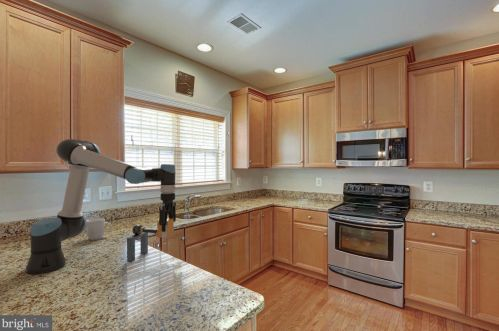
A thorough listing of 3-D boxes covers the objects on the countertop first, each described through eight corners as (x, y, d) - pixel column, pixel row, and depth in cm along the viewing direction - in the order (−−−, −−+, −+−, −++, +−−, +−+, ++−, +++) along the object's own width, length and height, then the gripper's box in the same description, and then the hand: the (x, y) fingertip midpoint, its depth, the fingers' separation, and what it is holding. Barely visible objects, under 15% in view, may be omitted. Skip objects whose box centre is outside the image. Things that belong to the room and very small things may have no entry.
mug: (109, 234, 178) (109, 216, 178) (112, 238, 170) (112, 219, 169) (85, 238, 169) (85, 219, 169) (86, 242, 160) (87, 222, 160)
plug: (138, 236, 132) (138, 219, 132) (145, 233, 138) (145, 217, 138) (167, 238, 129) (167, 221, 129) (173, 234, 135) (173, 218, 135)
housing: (131, 262, 128) (131, 228, 128) (126, 261, 129) (126, 228, 129) (147, 252, 142) (147, 222, 142) (143, 252, 143) (143, 222, 143)
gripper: (165, 195, 122) (164, 241, 122) (182, 191, 141) (182, 231, 141) (151, 194, 123) (151, 240, 123) (170, 190, 142) (170, 230, 142)
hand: (167, 235), depth 132 cm, fingers closed on plug, 6 cm apart
